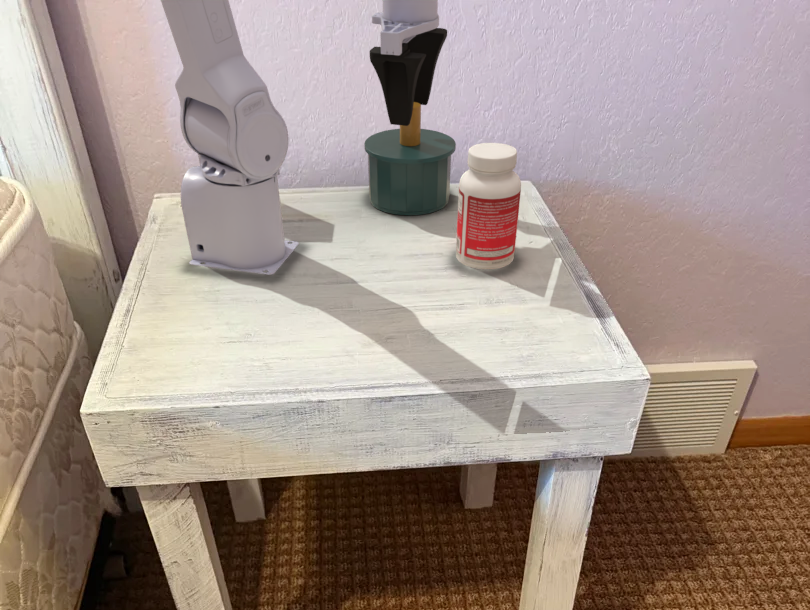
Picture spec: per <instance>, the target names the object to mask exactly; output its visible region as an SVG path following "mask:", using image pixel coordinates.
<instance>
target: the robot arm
mask: <svg viewBox="0 0 810 610" xmlns="http://www.w3.org/2000/svg"><path fill="white" fill-rule="evenodd" d="M160 2H161V6H162V8H163V11H164V14H165V17H166V20H167V23H168V26H169V29H170V32H171V34H172V37H173V41H174V44H175V46H176V49H177V52H178V55H179V58H180V61H181V64H182V67H183V68H182V71H181V72H180V74H179V75H178V77H177V79H176V81H175V83H174V84H175V85H174V87H175V91H176V93H177V96H178V99H179V106H180V107H179V108H180V110H179V111H180V113H179V118H180V119H179V124H180V130H181V134H182V136H183V139H184V141H185V143H186V144H187V146H188V147H189V148H190V149H191V151H193V152H194V153H195V154H197V156H198V162H199V165H194V166H190V167H189V168H188V169H187V170H186V171H185V173H184V176H183V178H182V180H181V185H180V204H181V210H182V215H183V221H184V226H185V229H186V235H187V240H188V245H189V250H190V254H191V255H190V256H191V260H190V261H189V262H188V264H189V265H192V266H199V267H205V268H214V269H221V270H228V271H236V272H244V273H251V274H260V275H267V276H271V275H274V274H275V273H276V272H277V271H278V270H279V269H280V267H281V266H283V264H284V263H285V261H286V260H287V259H288V258H289V257H290V256H291V255H292V253H293V252H294V251H295V250H296V249H297V247H298V246H299V245H300V243H299V241H295V240H287V239H285V232H284V224H283V215H282V205H281V196H280V187H279V178H278V176H280V174H281V173H280V172H281V171H280V168H281V167H282V166H283V163H284V162H285V160H286V157H287V154H288V150H289V131H288V126H287V124H286V120H285V119H284V117H283V116H282V114H281V113H280V112H279V110H277V109H276V107H275V106H274V104H273V102H272V99H271V96H270V92H269V89H268V86H267V83H266V82H265V81H264V80H263V79H262V77H261V76H260V75H259V74H258V72H257V71H256V69H254V67H253V66H252V64H251V63H250V62H249V61H248V59H247V58H246V56H245V54H244V51H243V47H242V43H241V40H240V37H239V33H238V30H237V26H236V22H235V19H234V15H233V12H232V8H231V5H230V1H229V0H160ZM381 2H382V12H375V13H374V14H372V15H371V23H372V24H373V25H380V27H381V31H380V32H379V33H380V35H379V36H380V46H373V47H372V48H371V49H370V50H369V62H370V63H371V65H372V67H373V69H374V71H375V74H376V75H377V77H378V80H379V83H380V86H381V89H382V94H383V97H384V102H385V108H386V111H387V117H388V120H389V123H390V125H394V126H400V125H403V126H408V125H409V124H410V121H411V117H412V111H413V103H414V102H417V103H419V104H421V106H427V105H428V103H429V100H430V96H431V91H432V85H433V82H434V75H435V72H436V71H435V70H436V66H437V63H438V59H439V57H440V54H441V51H442V48H443V46H444V44H445V42H446V40H447V37H448V29H446V28H444V27H439V26H440V16H439V13H438V10H439V9H438V7H439V5H438V4H439V0H382V1H381Z"/></svg>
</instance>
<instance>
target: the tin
mask: <svg viewBox="0 0 810 610" xmlns="http://www.w3.org/2000/svg"><path fill="white" fill-rule="evenodd" d="M451 169H452V155H450V156H449V157H447V158H445V159H442V160H439V161H434V162H429V163H421V164H400V163H391V162H386V161H382V160H379V159H376V158H374V157H372V156H370V155H369V154H367V170H368V196H369V202H370V204H371V206H372V207H374V208H375V209H377V210H379V211H381V212H384V213H386V214H391V215H396V216H397V215H398V216H421V215H427V214H432V213H435V212H438V211H441V210H442V209H444V208H445V207H446V206H447V205H448V204H449V198H450V193H451V188H450V187H451Z"/></svg>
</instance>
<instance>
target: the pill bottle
mask: <svg viewBox="0 0 810 610" xmlns="http://www.w3.org/2000/svg"><path fill="white" fill-rule="evenodd" d="M517 159H518V150H517V148H516V147H514V146H512V145H509V144H506V143H501V142H482V143H477V144H473V145H471V147H469V149H468V152H467V163H466V164H467V167H468V170H466V171H465V172H463V174H462V175H461V177H460V179H459V183H458V196H457V197H458V199H457V218H456V219H457V220H456V221H457V222H456V241H455V242H456V245H455V257H456V259H457V261H458V262H459V263H461V265H464V266H466V267H468V268H472V269H477V270H498V269H501V268H504V267H507V266H509V265H510V264H512V263H513V261H514V259H515V251H516V241H517V234H518V233H517V231H518V224H519V223H518V222H519V212H520V202H521V191H522V181H521V178H520V176H519V174H518V173H516V171H514V169H516V166H517V163H518V161H517Z"/></svg>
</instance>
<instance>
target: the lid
mask: <svg viewBox="0 0 810 610" xmlns="http://www.w3.org/2000/svg"><path fill="white" fill-rule="evenodd" d="M421 118H422V105H421V104H419V103H417V102H414V103H413V111H412V117H411V121H410V124H409V125H408V126H403V125H399V128H393V129H387V130H382V131H379V132H376V133H374V134H371V135H370V136H368V137H367V138H366V139H365V141H364V145H363V146H364V151H365V153H366V154H367V155H368V154H369V155H370V156H372V157H374V158H376V159H379V160H382V161H386V162H391V163H400V164H421V163H429V162H434V161H439V160H442V159H445V158H447V157H449V156H450V155H451V156H452V155H453V154H454V153H455V152H456V149H457V143H456V141H455V139H454V138H453V137H452V136H450V135H448V134H446V133H443V132H440V131H437V130H434V129H433V130H432V129H427V128H421V126H422V119H421Z"/></svg>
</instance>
